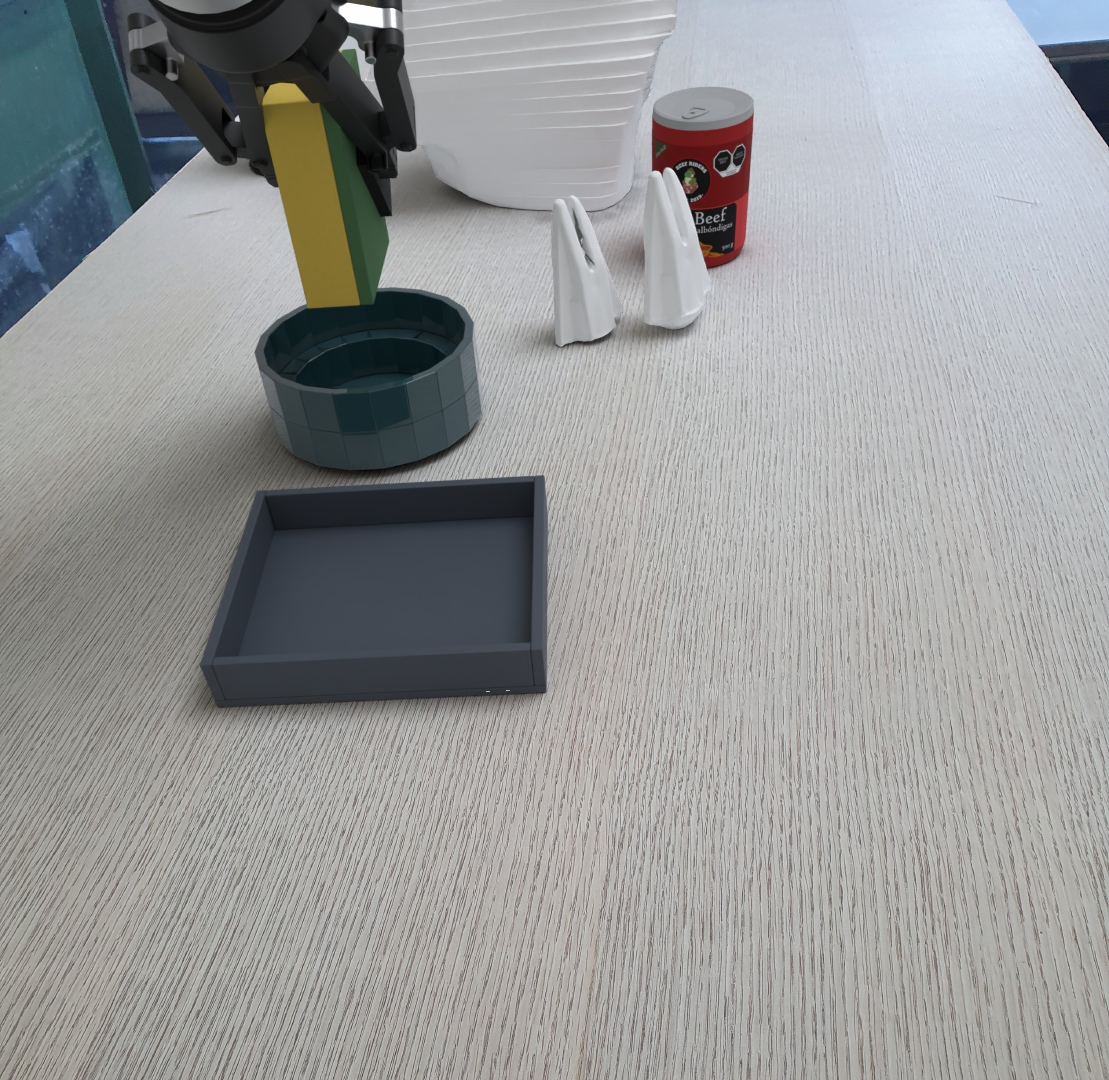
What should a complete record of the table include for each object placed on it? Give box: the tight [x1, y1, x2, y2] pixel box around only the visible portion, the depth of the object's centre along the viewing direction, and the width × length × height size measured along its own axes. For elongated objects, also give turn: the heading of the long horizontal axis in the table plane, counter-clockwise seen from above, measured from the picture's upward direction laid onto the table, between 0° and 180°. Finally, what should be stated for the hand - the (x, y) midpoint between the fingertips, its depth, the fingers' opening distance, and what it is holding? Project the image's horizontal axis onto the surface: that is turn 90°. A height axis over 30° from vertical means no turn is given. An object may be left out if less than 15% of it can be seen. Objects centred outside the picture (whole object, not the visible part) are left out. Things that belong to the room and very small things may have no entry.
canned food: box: [651, 86, 755, 269], centre depth 86 cm, size 8×8×11 cm
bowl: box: [254, 286, 484, 471], centre depth 72 cm, size 14×14×6 cm
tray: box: [199, 474, 549, 708], centre depth 60 cm, size 17×15×3 cm
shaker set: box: [550, 168, 713, 348], centre depth 77 cm, size 12×4×11 cm, turn 93°
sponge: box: [263, 48, 390, 308], centre depth 63 cm, size 4×9×11 cm, turn 0°
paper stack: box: [362, 0, 678, 212], centre depth 94 cm, size 21×27×26 cm
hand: (347, 196), depth 68 cm, fingers closed on sponge, 4 cm apart
